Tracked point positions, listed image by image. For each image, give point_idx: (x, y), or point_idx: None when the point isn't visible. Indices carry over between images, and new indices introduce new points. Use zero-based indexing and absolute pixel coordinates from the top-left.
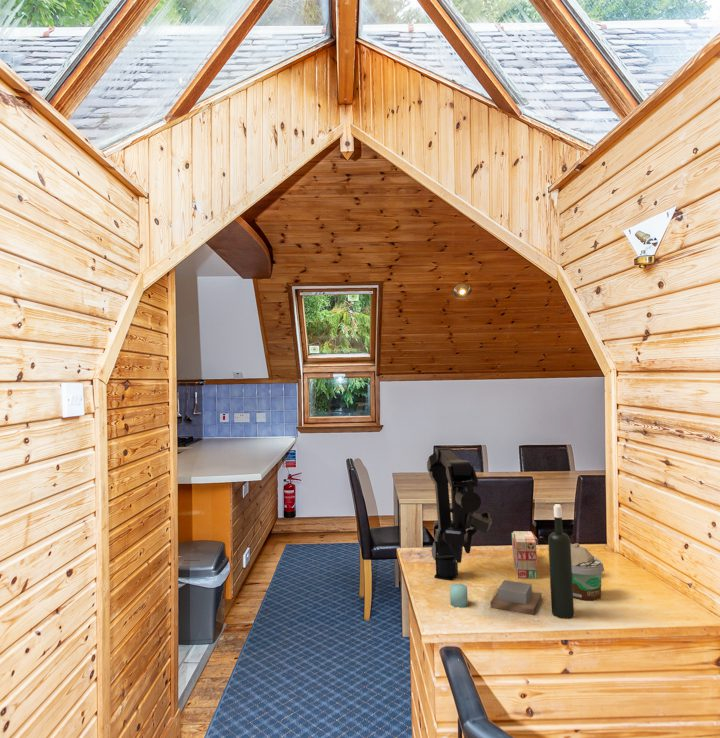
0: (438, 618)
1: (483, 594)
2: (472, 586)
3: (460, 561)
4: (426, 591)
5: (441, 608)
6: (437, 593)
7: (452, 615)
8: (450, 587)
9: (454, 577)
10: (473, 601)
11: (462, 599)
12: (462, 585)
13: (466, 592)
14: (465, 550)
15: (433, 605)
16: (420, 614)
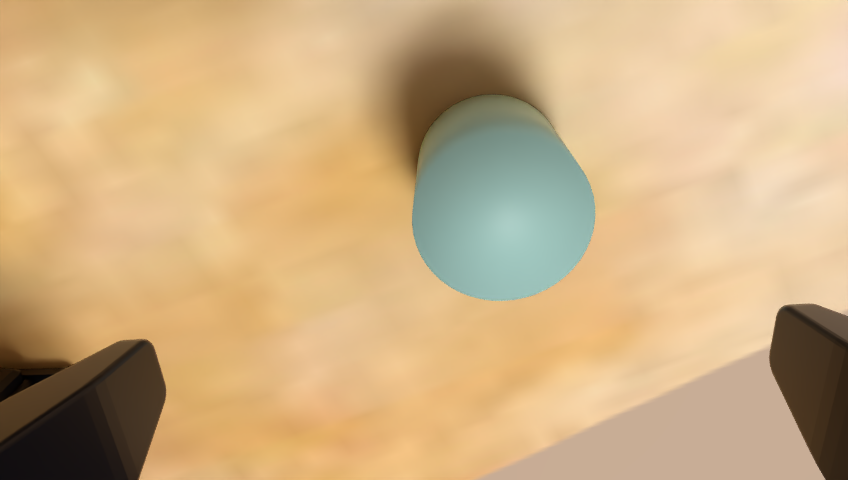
0: (811, 213)
1: (185, 46)
2: (79, 194)
3: (832, 317)
4: (371, 444)
5: (622, 257)
6: (367, 373)
7: (727, 137)
8: (546, 284)
9: (25, 372)
10: (380, 76)
11: (556, 133)
12: (443, 199)
13: (511, 122)
14: (149, 435)
15: (590, 324)
16: None
